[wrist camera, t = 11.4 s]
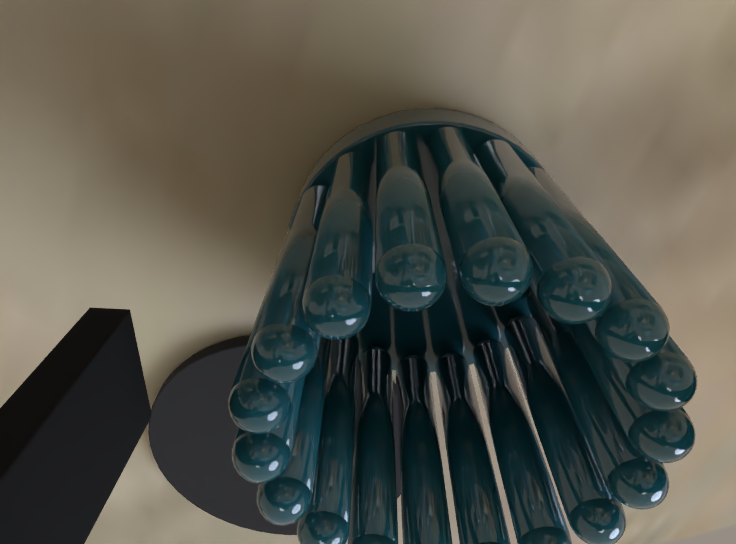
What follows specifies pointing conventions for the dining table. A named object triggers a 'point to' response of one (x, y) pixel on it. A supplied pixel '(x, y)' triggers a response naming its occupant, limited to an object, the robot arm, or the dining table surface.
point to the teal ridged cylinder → (453, 351)
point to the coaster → (212, 438)
